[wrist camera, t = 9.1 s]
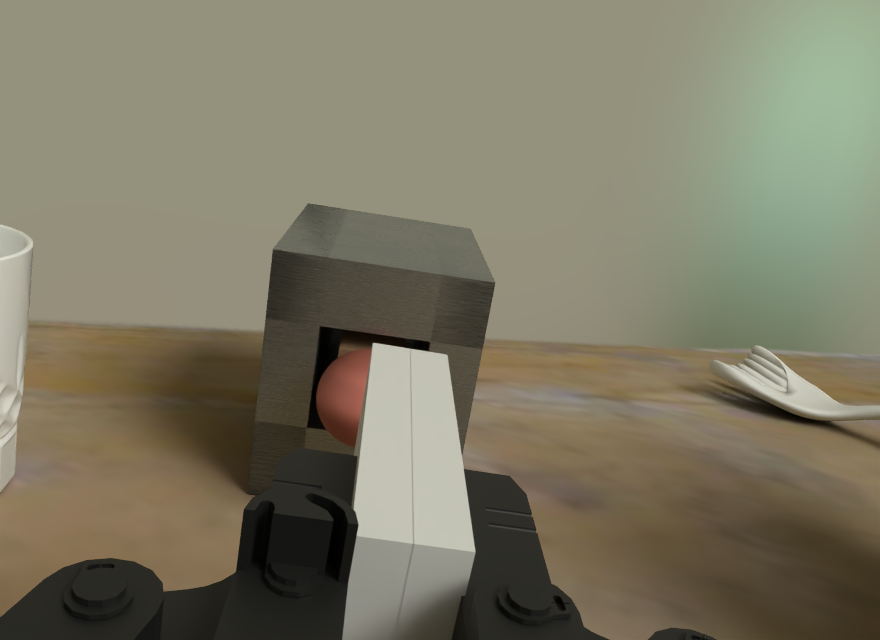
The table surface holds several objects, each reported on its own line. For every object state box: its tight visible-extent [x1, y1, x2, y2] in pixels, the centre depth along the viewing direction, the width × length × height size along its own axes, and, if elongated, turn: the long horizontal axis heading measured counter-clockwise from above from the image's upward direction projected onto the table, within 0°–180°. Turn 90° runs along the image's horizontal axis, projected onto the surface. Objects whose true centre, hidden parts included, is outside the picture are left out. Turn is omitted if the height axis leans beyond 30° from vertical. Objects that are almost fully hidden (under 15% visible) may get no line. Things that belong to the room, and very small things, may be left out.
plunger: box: [316, 330, 406, 447], centre depth 36 cm, size 14×4×4 cm, turn 3°
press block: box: [247, 204, 495, 495], centre depth 38 cm, size 12×9×11 cm
